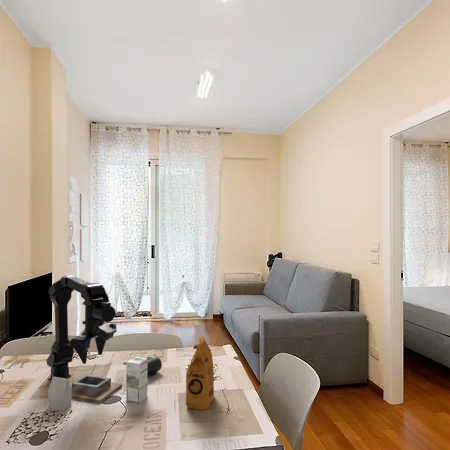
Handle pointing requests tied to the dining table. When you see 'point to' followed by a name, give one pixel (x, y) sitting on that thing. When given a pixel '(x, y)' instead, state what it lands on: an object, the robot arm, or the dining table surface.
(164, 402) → the dining table surface
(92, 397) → the dock
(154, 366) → the end cap
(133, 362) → the syrup box
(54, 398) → the tea bag
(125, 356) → the dining table surface
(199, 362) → the coffee package
